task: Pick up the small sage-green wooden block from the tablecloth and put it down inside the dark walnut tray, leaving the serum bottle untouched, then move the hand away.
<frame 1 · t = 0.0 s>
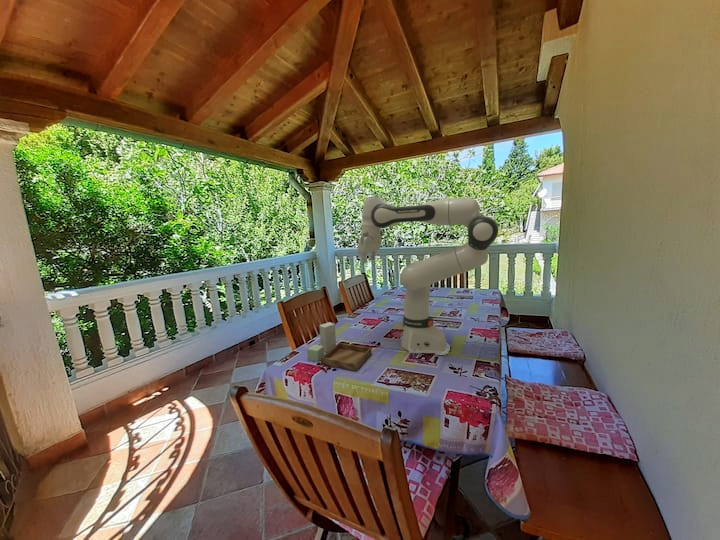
hand: (368, 261, 137), 39 cm above the table, tool pointing down, fingers open, 8 cm apart
walnut tray: (347, 359, 122), on the table
skincare box: (328, 349, 132), on the table
sage block: (316, 358, 124), on the table
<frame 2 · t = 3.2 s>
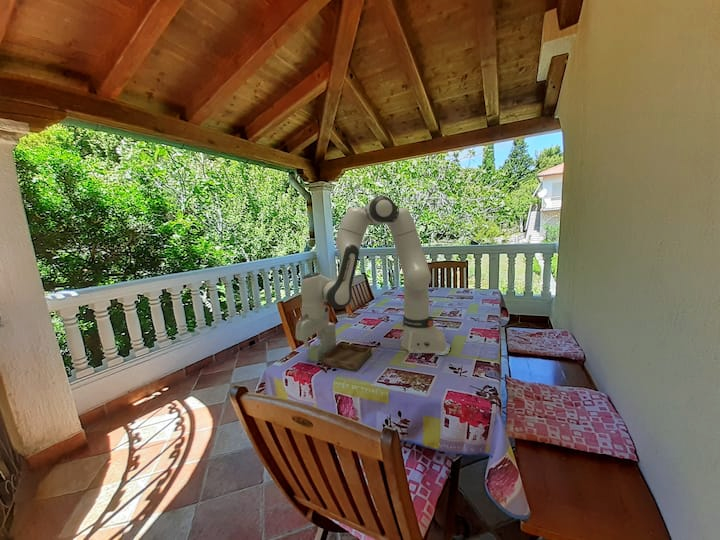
hand: (313, 342, 123), 7 cm above the table, tool pointing down, fingers open, 8 cm apart
nothing on the table moved.
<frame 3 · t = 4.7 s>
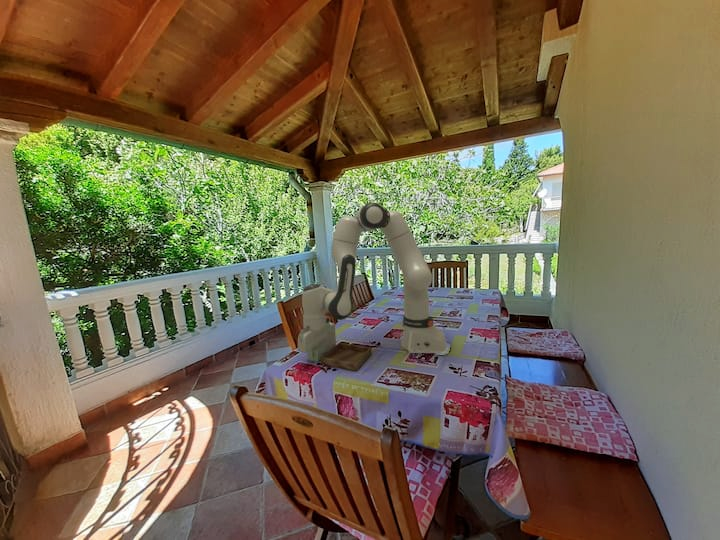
hand: (315, 353, 123), 2 cm above the table, tool pointing down, fingers closed on sage block, 5 cm apart
sage block: (316, 358, 124), on the table, touching gripper
everything else where it was.
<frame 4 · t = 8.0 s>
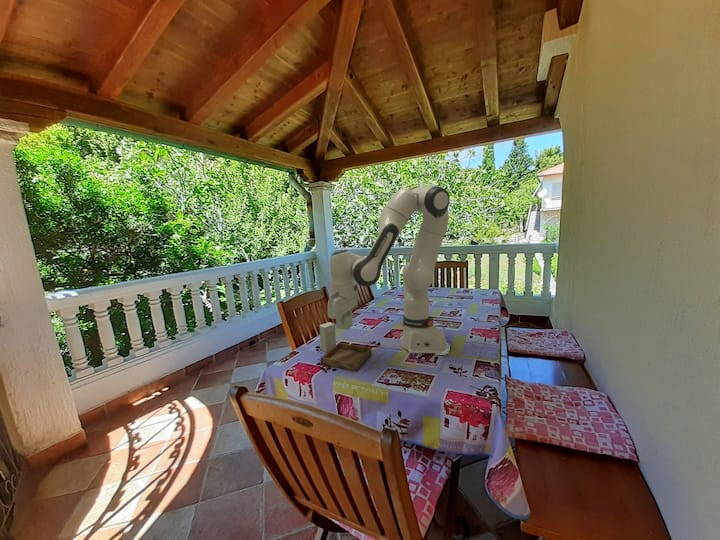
hand: (344, 322, 120), 16 cm above the table, tool pointing down, fingers closed on sage block, 5 cm apart
sage block: (344, 327, 120), point 14 cm above the table, touching gripper
everything else where it was.
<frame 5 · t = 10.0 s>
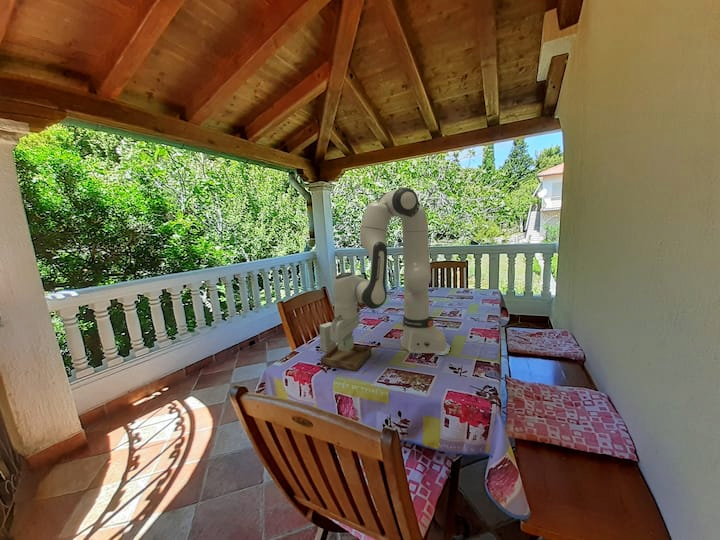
hand: (345, 343, 121), 7 cm above the table, tool pointing down, fingers closed on sage block, 5 cm apart
sage block: (345, 348, 121), point 5 cm above the table, touching gripper
everything else where it was.
when the fingers open (4 cm above the table, at t = 11.4 s): sage block drops 2 cm, resting on walnut tray.
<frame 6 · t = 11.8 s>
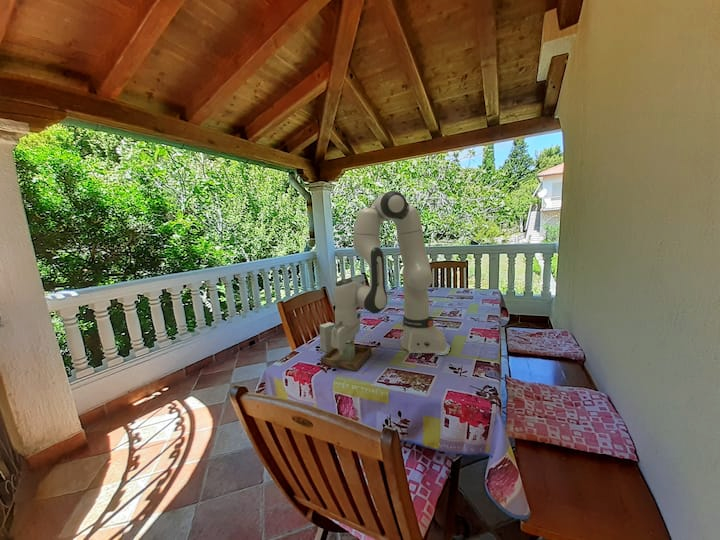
hand: (346, 349, 121), 4 cm above the table, tool pointing down, fingers open, 8 cm apart
sage block: (347, 357, 122), point 1 cm above the table, touching walnut tray
everything else where it was.
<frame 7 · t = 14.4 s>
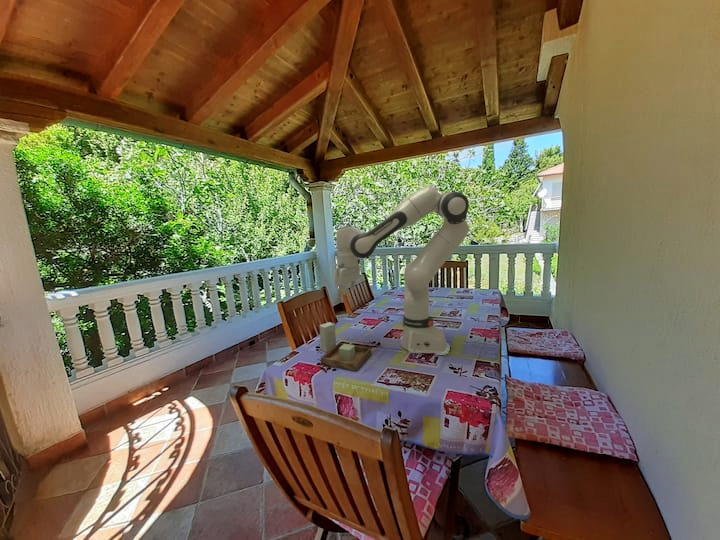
hand: (348, 291, 132), 26 cm above the table, tool pointing down, fingers open, 8 cm apart
nothing on the table moved.
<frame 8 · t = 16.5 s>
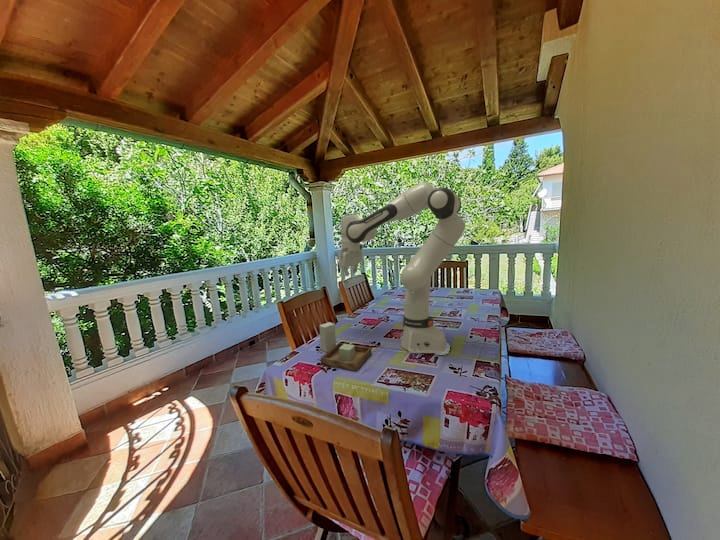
hand: (351, 274, 148), 31 cm above the table, tool pointing down, fingers open, 8 cm apart
nothing on the table moved.
at the end: sage block inside the target area on the walnut tray (0.0 cm from its centre), point 0.6 cm above the walnut tray's base; the gripper is holding nothing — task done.
